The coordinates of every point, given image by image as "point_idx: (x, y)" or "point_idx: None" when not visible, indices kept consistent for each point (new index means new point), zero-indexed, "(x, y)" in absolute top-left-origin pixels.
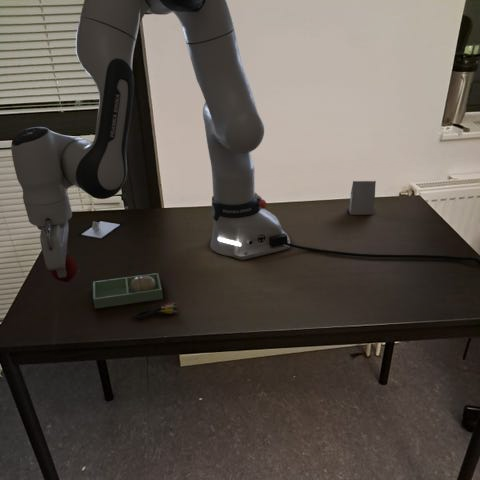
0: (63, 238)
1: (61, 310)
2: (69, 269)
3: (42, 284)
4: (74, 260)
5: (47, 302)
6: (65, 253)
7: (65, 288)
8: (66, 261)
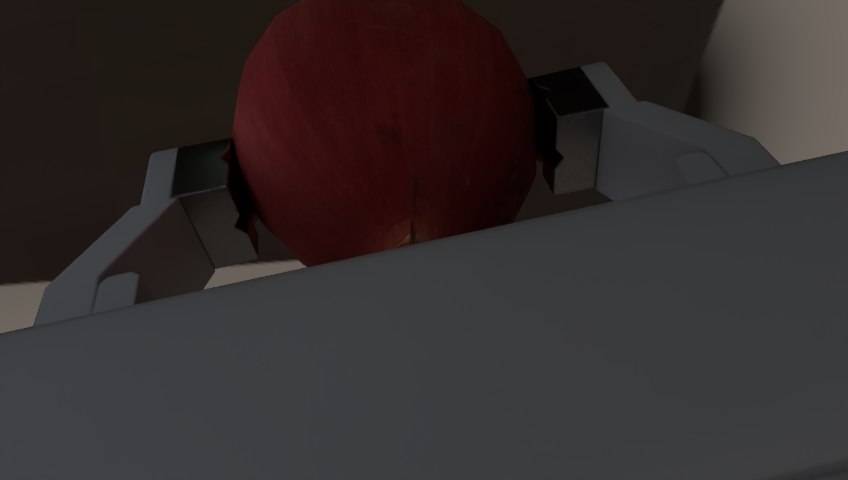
0: (713, 433)
1: None
2: (512, 61)
3: (73, 215)
4: (357, 49)
5: None
6: (821, 208)
7: (95, 63)
8: (495, 138)
